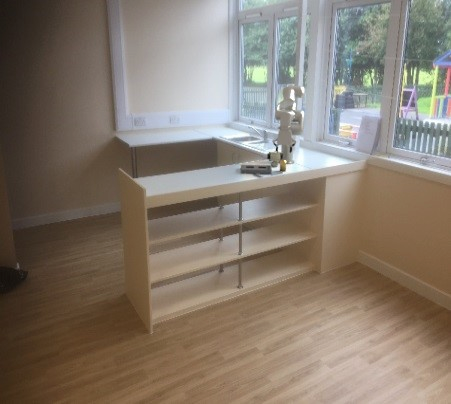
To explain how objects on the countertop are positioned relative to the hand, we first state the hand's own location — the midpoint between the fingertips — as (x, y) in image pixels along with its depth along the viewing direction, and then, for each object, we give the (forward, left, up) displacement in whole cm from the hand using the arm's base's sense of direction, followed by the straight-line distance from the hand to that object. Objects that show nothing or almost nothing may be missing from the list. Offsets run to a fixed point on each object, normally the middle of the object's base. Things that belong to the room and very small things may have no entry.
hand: (283, 152), depth 308 cm
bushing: (-1, 0, -14) cm, 14 cm away
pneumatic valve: (-16, -5, -14) cm, 22 cm away
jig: (+2, -20, -14) cm, 24 cm away
